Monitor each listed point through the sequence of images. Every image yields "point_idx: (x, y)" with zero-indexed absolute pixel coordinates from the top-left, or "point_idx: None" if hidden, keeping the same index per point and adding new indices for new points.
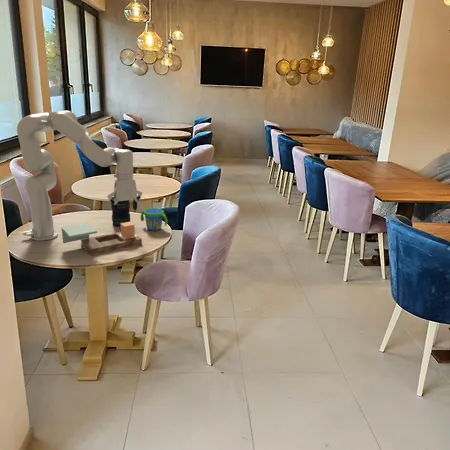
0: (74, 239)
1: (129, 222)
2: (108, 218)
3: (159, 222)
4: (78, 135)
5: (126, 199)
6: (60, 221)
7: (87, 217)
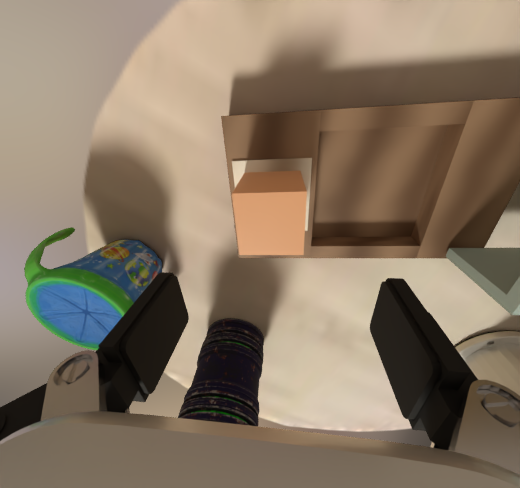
0: None
1: (247, 245)
2: None
3: (90, 254)
4: None
5: (284, 469)
6: (376, 408)
7: (303, 402)
